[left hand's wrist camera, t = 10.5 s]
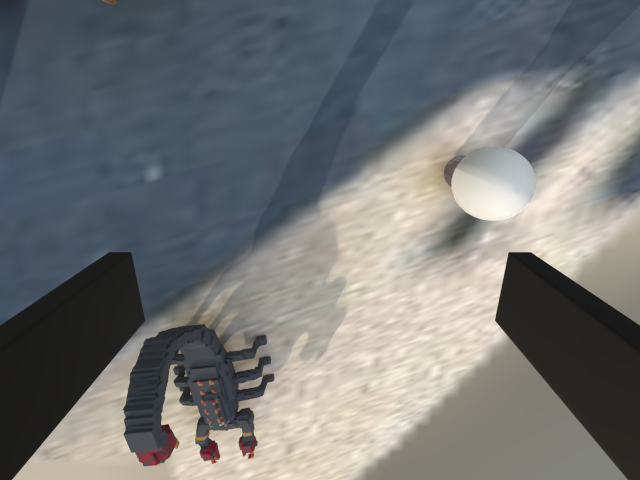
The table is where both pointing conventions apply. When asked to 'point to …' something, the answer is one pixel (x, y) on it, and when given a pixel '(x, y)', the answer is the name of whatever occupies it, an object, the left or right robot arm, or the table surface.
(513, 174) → the light bulb
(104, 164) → the table surface
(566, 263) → the table surface
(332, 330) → the table surface
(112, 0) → the bar
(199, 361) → the toy
